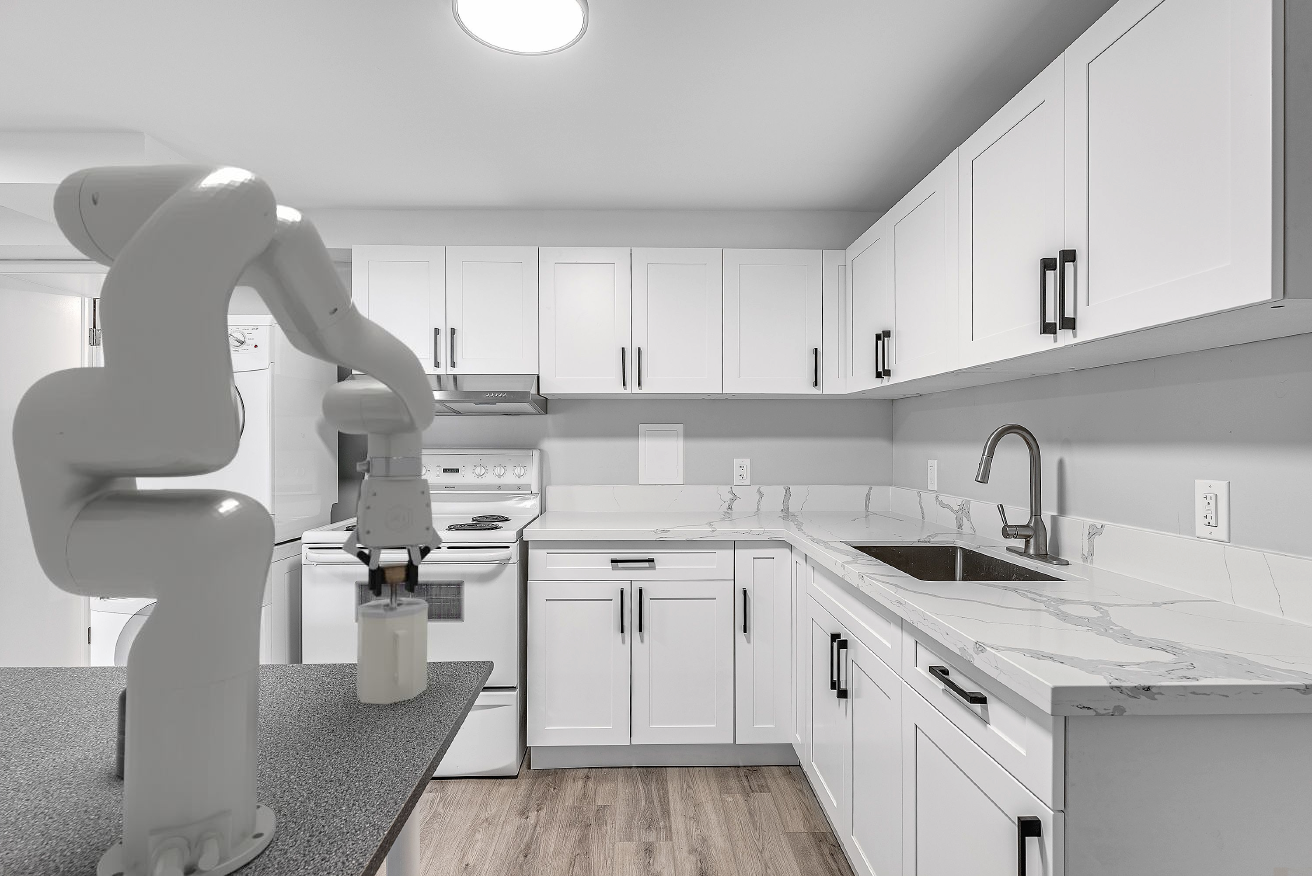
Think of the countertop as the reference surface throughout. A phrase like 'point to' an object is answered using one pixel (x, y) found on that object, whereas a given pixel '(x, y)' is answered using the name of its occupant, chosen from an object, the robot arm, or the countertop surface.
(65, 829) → the countertop surface
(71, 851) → the countertop surface
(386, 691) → the press pot
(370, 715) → the countertop surface
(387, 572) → the plunger
